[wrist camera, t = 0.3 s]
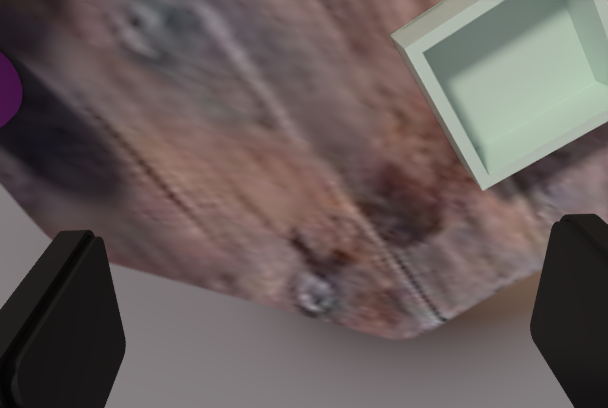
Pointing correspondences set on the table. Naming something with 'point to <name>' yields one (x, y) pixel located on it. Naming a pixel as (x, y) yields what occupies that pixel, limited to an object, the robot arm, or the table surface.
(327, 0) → the table surface
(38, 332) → the robot arm
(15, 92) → the beverage can
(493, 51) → the mint green open box
